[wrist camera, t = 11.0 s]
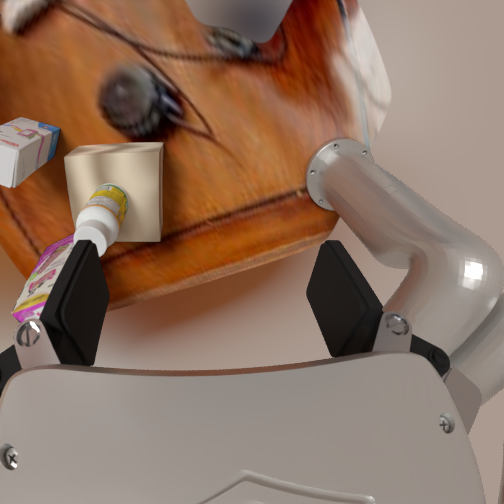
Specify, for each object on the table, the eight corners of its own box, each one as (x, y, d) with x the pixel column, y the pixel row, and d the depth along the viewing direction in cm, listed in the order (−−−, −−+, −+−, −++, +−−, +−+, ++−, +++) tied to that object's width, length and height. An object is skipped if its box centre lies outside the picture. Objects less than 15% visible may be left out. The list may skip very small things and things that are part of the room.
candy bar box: (88, 223, 38) (53, 296, 25) (102, 246, 41) (77, 322, 28) (45, 245, 38) (9, 314, 25) (59, 265, 41) (31, 335, 28)
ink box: (62, 126, 28) (19, 151, 19) (54, 157, 30) (14, 191, 21) (20, 115, 24) (-27, 137, 15) (15, 145, 27) (-30, 175, 17)
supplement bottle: (106, 174, 30) (80, 210, 22) (137, 197, 33) (122, 239, 25) (86, 204, 31) (60, 245, 24) (116, 225, 34) (99, 270, 27)
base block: (163, 142, 34) (159, 152, 30) (162, 223, 41) (160, 241, 37) (77, 146, 30) (64, 157, 27) (87, 223, 38) (77, 241, 34)
